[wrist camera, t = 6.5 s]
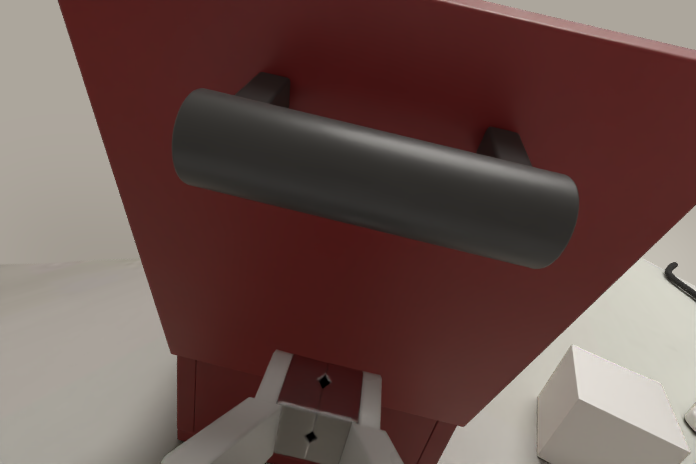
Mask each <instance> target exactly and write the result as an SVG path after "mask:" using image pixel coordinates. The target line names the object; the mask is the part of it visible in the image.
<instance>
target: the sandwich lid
mask: <svg viewBox="0 0 696 464" xmlns="http://www.w3.org/2000/svg"><path fill="white" fill-rule="evenodd" d="M58 3H59V6H60V9H61V12H62V15H63V18H64V21H65V24H66V28H67V31H68V34H69V36H70V40H71V43H72V46H73V49H74V52H75V56H76V59H77V62H78V65H79V68H80V71H81V74H82V77H83V81H84V84H85V87H86V90H87V93H88V96H89V99H90V102H91V106H92V109H93V112H94V115H95V118H96V121H97V124H98V127H99V130H100V134H101V137H102V140H103V143H104V146H105V149H106V152H107V155H108V159H109V162H110V165H111V168H112V171H113V174H114V177H115V180H116V184H117V187H118V190H119V193H120V196H121V199H122V202H123V205H124V209H125V212H126V215H127V218H128V221H129V224H130V227H131V230H132V233H133V236H134V240H135V243H136V246H137V249H138V252H139V255H140V258H141V262H142V265H143V268H144V271H145V274H146V277H147V280H148V283H149V287H150V290H151V293H152V296H153V299H154V302H155V305H156V308H157V311H158V315H159V318H160V321H161V324H162V327H163V330H164V333H165V336H166V340H167V343H168V346H169V349H170V352H171V354H174V355H178V356H182V357H186V358H190V359H194V360H198V361H202V362H206V363H210V364H214V365H218V366H222V367H226V368H230V369H234V370H238V371H242V372H246V373H250V374H254V375H258V376H262V377H264V374H265V372H266V370H267V367H268V365H269V362H270V360H271V358H272V355H273V353H274V352H275V350H276V349H277V350H280V351H284V352H288V353H291V354H296V355H300V356H304V357H307V358H311V359H315V360H318V361H322V362H325V363H331V364H335V365H340V366H344V367H348V368H352V369H357V370H361V371H362V372H363V371H365V372H369V373H373V374H378V375H381V378H382V388H381V406H382V407H386V408H390V409H394V410H398V411H402V412H406V413H410V414H414V415H418V416H422V417H426V418H430V419H434V420H438V421H442V422H446V423H450V424H454V425H458V426H462V427H464V426H465V425H466V424H467V423H468V422H469V421H471V420H472V419H473V418H474V417H475V416H476V415H477V414H478V413H479V412H480V411H481V410H482V409H483V408H484V407H485V406H486V405H487V404H488V403H489V402H490V401H491V400H492V399H494V398H495V397H496V396H497V395H498V394H499V393H500V392H501V391H502V390H503V389H504V388H505V387H506V386H507V385H508V384H509V383H510V382H511V381H512V380H513V379H514V378H515V377H517V376H518V375H519V374H520V373H521V372H522V371H523V370H524V369H525V368H526V367H527V366H528V365H529V364H530V363H531V362H532V361H533V360H534V359H535V358H536V357H537V356H538V355H540V354H541V353H542V352H543V351H544V350H545V349H546V348H547V347H548V346H549V345H550V344H551V343H552V342H553V341H554V340H555V339H556V338H557V337H558V336H559V335H560V334H561V333H562V332H564V331H565V330H566V329H567V328H568V327H569V326H570V325H571V324H572V323H573V322H574V321H575V320H576V319H577V318H578V317H579V316H580V315H581V314H582V313H583V312H584V311H585V310H587V309H588V308H589V307H590V306H591V305H592V304H593V303H594V302H595V301H596V300H597V299H598V298H599V297H600V296H601V295H602V294H603V293H604V292H605V291H606V290H607V289H608V288H610V287H611V286H612V285H613V284H614V283H615V282H616V281H617V280H618V279H619V278H620V277H621V276H622V275H623V274H624V273H625V272H626V271H627V270H628V269H629V268H630V267H631V266H633V265H634V264H635V263H636V262H637V261H638V260H639V259H640V258H641V257H642V256H643V255H644V254H645V253H646V252H647V251H648V250H649V249H650V248H651V247H652V246H653V245H654V244H655V243H657V241H659V240H660V239H661V238H662V237H663V236H664V235H665V234H666V233H667V232H668V231H669V230H670V229H671V228H672V227H673V226H674V225H675V224H676V223H677V222H678V221H679V220H681V219H682V218H683V217H684V216H685V215H686V214H687V213H688V212H689V211H690V210H691V209H692V208H693V207H694V206H695V205H696V50H692V49H688V48H684V47H679V46H675V45H671V44H666V43H662V42H658V41H653V40H649V39H645V38H641V37H636V36H632V35H627V34H624V33H619V32H614V31H611V30H606V29H602V28H598V27H593V26H589V25H585V24H581V23H576V22H572V21H568V20H563V19H559V18H555V17H551V16H546V15H542V14H538V13H533V12H529V11H524V10H520V9H516V8H512V7H508V6H503V5H499V4H495V3H491V2H486V1H482V0H58Z"/></svg>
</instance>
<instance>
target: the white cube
mask: <svg viewBox="0 0 696 464" xmlns="http://www.w3.org/2000/svg"><path fill="white" fill-rule="evenodd" d="M690 453H691V451H690V449H689V447H688V444H687V442H686V439H685V437H684V435H683V432H682V430H681V428H680V425H679V423H678V421H677V418H676V416H675V414H674V411H673V409H672V407H671V404H670V402H669V400H668V397H667V395H666V393H665V390H664V388H663V386H662V384H661V383H659V382H657V381H655V380H652V379H650V378H648V377H645V376H643V375H641V374H639V373H636V372H634V371H632V370H630V369H627V368H625V367H623V366H620V365H618V364H616V363H614V362H611V361H609V360H607V359H604V358H602V357H600V356H598V355H595V354H593V353H591V352H589V351H586V350H584V349H582V348H579V347H577V346H575V345H573V344H572V345H571V346H570V348H569V349H568V351H567V352H566V354H565V355H564V357H563V358H562V360H561V362H560V363H559V365H558V366H557V368H556V369H555V371H554V372H553V374H552V375H551V377H550V379H549V380H548V382H547V383H546V385H545V386H544V388H543V389H542V391H541V392H540V394H539V396H538V420H537V456H538V457H540V458H542V459H543V460H545V461H547V462H549V463H551V464H680V463H681V462H682V461H683V460H684V459H685V458H686V457H687V456H688V455H689V454H690Z"/></svg>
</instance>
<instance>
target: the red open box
mask: <svg viewBox="0 0 696 464" xmlns="http://www.w3.org/2000/svg"><path fill="white" fill-rule="evenodd" d="M262 379H263V377H262V376H258V375H254V374H250V373H246V372H242V371H238V370H234V369H230V368H226V367H222V366H218V365H214V364H210V363H206V362H202V361H198V360H194V359H190V358H186V357H182V356H178V355H177V429H178V430H177V439H178V440H181V441H187V440H188V439H190V438H191V437H192V436H194V435H195V434H197V433H198V432H200V431H201V430H202V429H204V428H205V427H207V426H208V425H210V424H211V423H212V422H214V421H215V420H217V419H218V418H220V417H221V416H223V415H224V414H225V413H227V412H228V411H230V410H231V409H233V408H234V407H235V406H237V405H238V404H240V403H241V402H243V401H244V400H245V399H247V398H248V397H251V398H255V396H256V394H257V391H258V389H259V386H260V384H261V382H262ZM456 426H457V425H454V424H450V423H446V422H442V421H438V420H434V419H430V418H426V417H422V416H418V415H414V414H410V413H406V412H402V411H398V410H394V409H390V408H386V407H382V406H381V417H380V429H381V430H384V431H386V433H387V434H388V436H389V438H390V440H391V441H392V443H393V445H394V447H395V449H396V450H397V452H398V454H399V456H400V458H401V459H402V461H403V463H404V464H437V463H438V461H439V459H440V457H441V455H442V453H443V451H444V449H445V447H446V445H447V444H448V442H449V440H450V438H451V436H452V434H453V432H454V430H455V428H456ZM266 462H267V463H271V464H319V463H315V462H312V461H308V460H306V459H300V458H296V457H291V456H286V455H282V454H277V453H273V455H272V456H271V457H270V458H269V459H268V460H267V461H266Z"/></svg>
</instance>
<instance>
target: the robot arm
mask: <svg viewBox="0 0 696 464" xmlns="http://www.w3.org/2000/svg"><path fill="white" fill-rule="evenodd" d="M677 266H678V264H677V263H676V262H673V263H671V264H669V265H668V267H667V268H666V269H665V274H666V276H667V277H668V278H669V279H670V280H671V281H672V282H673V283H675V284H676V285H677V286H679V287H680V288H682V289H683V290H684V291H686V292H687V293H689V294H690V295H691V296H693V297H694V298H695V299H696V291H695V290H693V289H692V288H690V287H689V286H688V285H686V284H685V283H683V282H682V281H680V280H679V279H678V278H677V277H675V276H674V275H673V273H672V270H674V269H675V268H676V267H677ZM381 388H382V378H381V375H378V374H373V373H369V372H365V371H363V372H362V371H361V370H357V369H352V368H348V367H344V366H340V365H335V364H331V363H325V362H322V361H318V360H315V359H311V358H307V357H304V356H300V355H296V354H291V353H288V352H284V351H280V350H277V349H276V350H275V352H274V353H273V355H272V358H271V360H270V362H269V365H268V367H267V370H266V372H265V374H264V377H263V379H262V382H261V384H260V386H259V389H258V391H257V394H256V396H255V398H251V397H248V398H247V399H245V400H244V401H243V402H241V403H240V404H238V405H237V406H235V407H234V408H233V409H231V410H230V411H228V412H227V413H225V414H224V415H223V416H221V417H220V418H218V419H217V420H215V421H214V422H212V423H211V424H210V425H208V426H207V427H205V428H204V429H202V430H201V431H200V432H198V433H197V434H195V435H194V436H192V437H191V438H190V439H188V440H187V441H185V442H184V443H182V444H181V445H179V446H178V447H177V448H175V449H174V450H172V451H171V452H169V453H168V454H167V455H165V456H164V458H163V460H162V461H161V463H160V464H264V463H265V462H266V461H267V460H268V459H269V458H270V457H271V456H272V455H273V453H277V454H282V455H286V456H291V457H296V458H300V459H306V460H308V461H312V462H315V463H319V464H404V463H403V461H402V459H401V458H400V456H399V454H398V452H397V450H396V449H395V447H394V445H393V443H392V441H391V440H390V438H389V436H388V434H387V433H386V431H384V430H381V429H380V417H381ZM685 420H686V422H687V423H688V424H689V426H690V427H691V428H692V429H693V430H694V431H695V432H696V403H695V404H694V405H693V406H692V407H691V409H690V410H689V411H688V412H687V413H686V415H685Z"/></svg>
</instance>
